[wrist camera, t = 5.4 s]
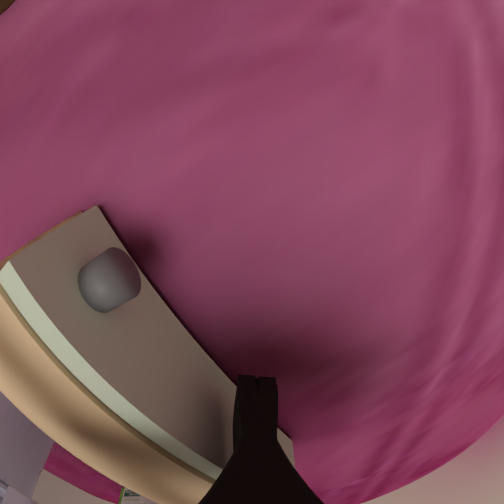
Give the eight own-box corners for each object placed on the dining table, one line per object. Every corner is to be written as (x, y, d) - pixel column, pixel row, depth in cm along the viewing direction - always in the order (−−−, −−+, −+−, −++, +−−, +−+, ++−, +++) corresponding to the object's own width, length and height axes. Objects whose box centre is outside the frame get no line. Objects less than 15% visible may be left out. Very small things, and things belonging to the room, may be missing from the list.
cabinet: (203, 457, 17) (196, 518, 12) (17, 270, 11) (-48, 328, 6) (275, 443, 16) (279, 513, 11) (81, 210, 10) (-14, 272, 5)
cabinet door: (278, 445, 16) (282, 509, 11) (80, 218, 10) (-4, 276, 5) (309, 436, 15) (318, 501, 11) (118, 187, 9) (29, 236, 5)
